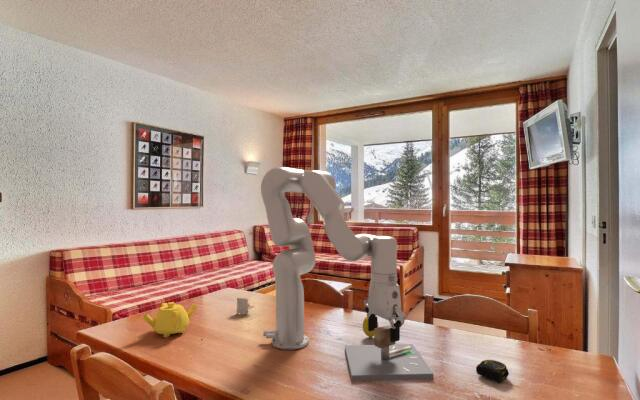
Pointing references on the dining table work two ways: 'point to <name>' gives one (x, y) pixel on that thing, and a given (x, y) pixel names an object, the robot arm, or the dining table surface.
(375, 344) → the wooden block with handle
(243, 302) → the architectural model
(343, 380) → the dining table surface
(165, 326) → the teapot
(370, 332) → the lemon
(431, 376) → the board
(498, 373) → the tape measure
